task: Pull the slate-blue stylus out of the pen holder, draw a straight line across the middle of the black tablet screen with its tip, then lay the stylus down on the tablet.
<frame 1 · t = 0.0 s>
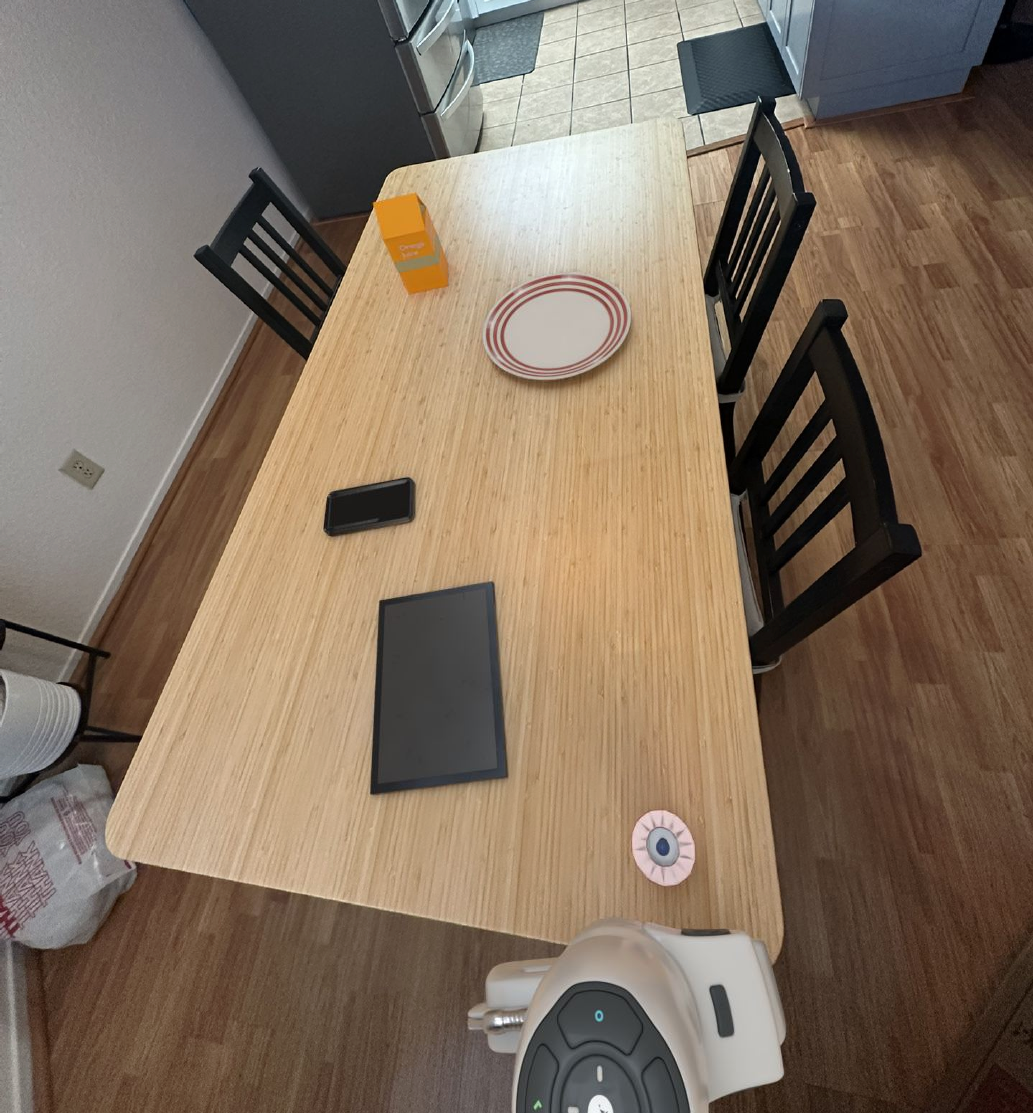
hand: (633, 970, 46), 15 cm above the table, tool pointing down, fingers open, 8 cm apart
orange juice: (429, 279, 126), on the table
phone: (371, 508, 95), on the table
holder: (663, 844, 63), on the table
stylus: (662, 845, 55), point 10 cm above the table, touching holder
dinner plate: (557, 333, 109), on the table
tablet: (438, 680, 77), on the table
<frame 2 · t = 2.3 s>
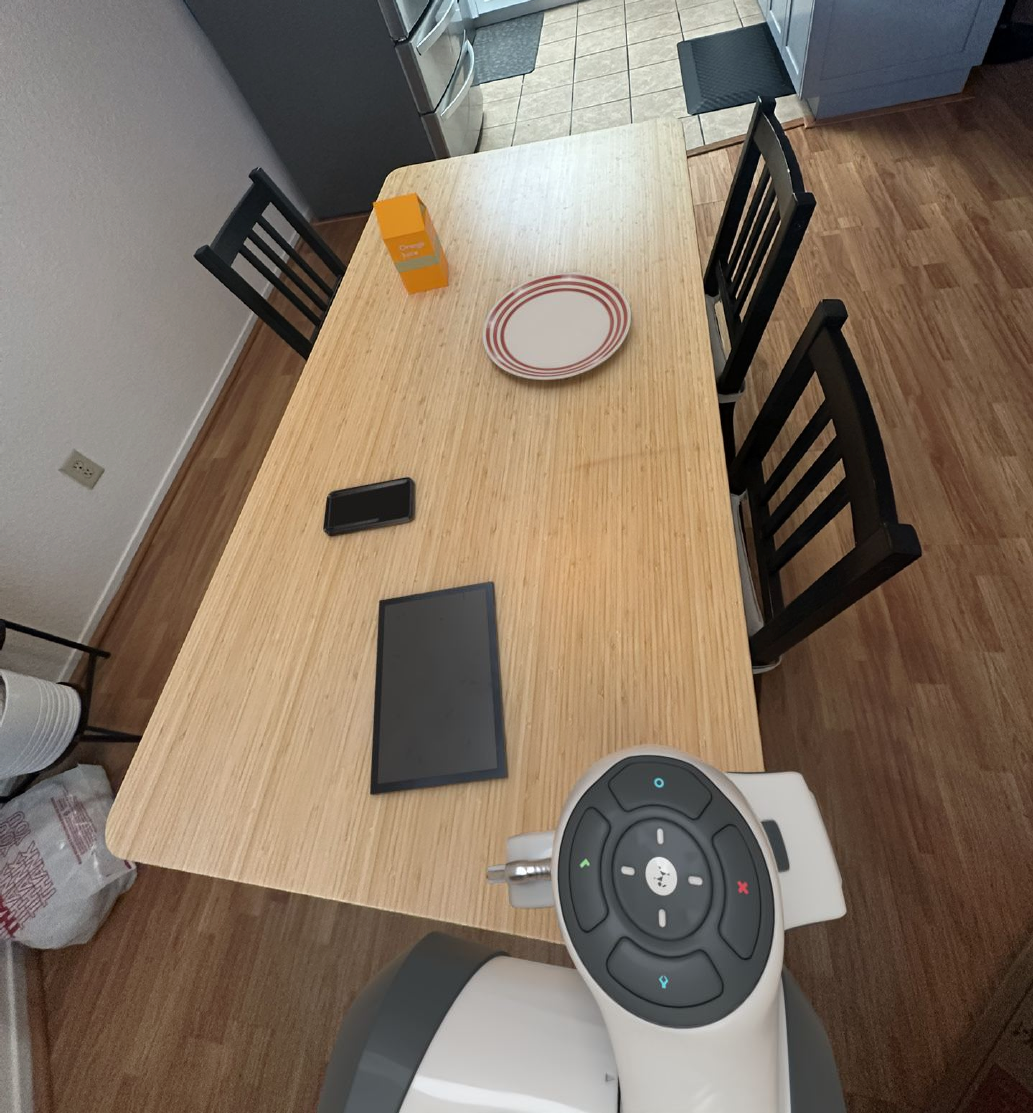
hand: (662, 849, 43), 25 cm above the table, tool pointing down, fingers open, 8 cm apart
nothing on the table moved.
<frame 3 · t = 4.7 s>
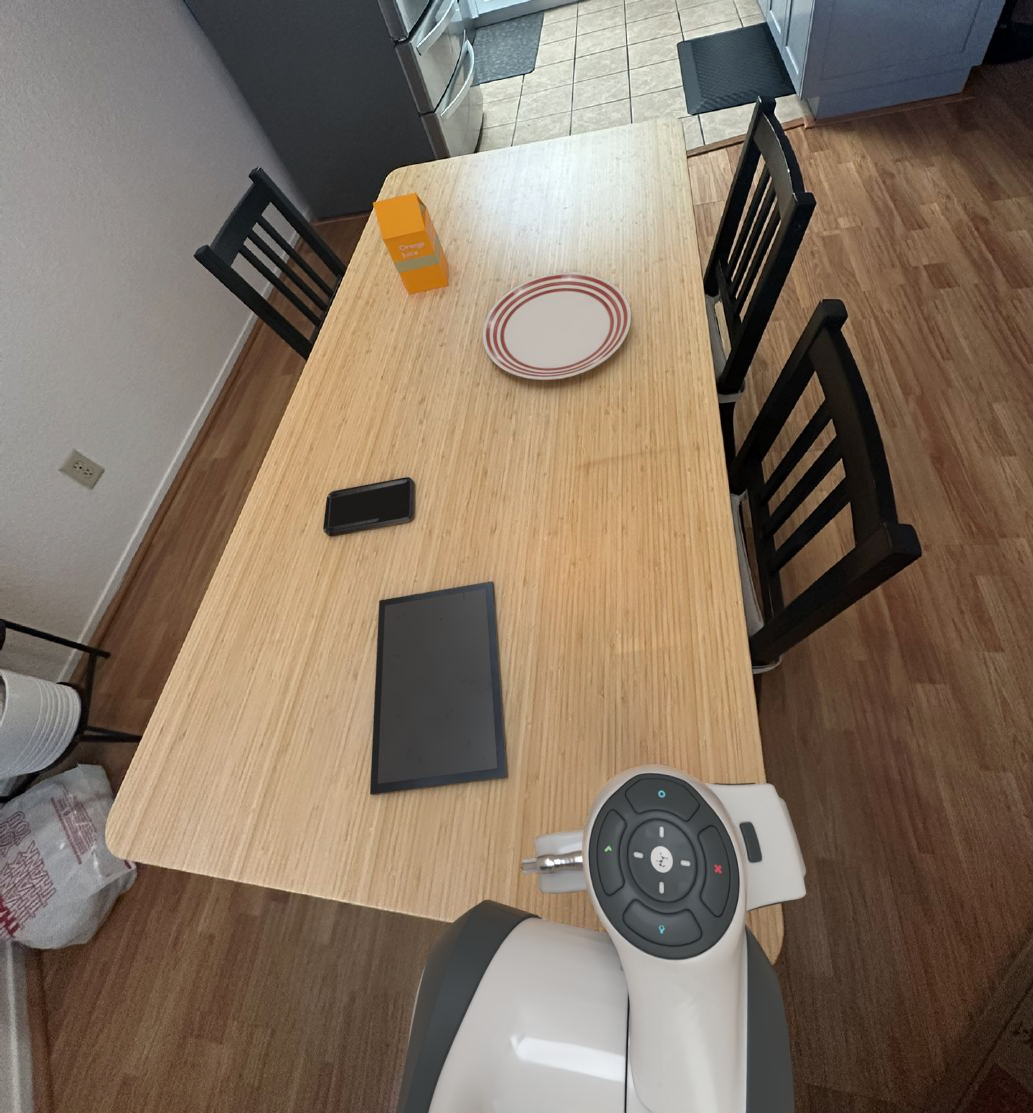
hand: (662, 847, 51), 15 cm above the table, tool pointing down, fingers closed on stylus, 1 cm apart
stylus: (662, 845, 55), point 10 cm above the table, touching gripper
everything else where it was.
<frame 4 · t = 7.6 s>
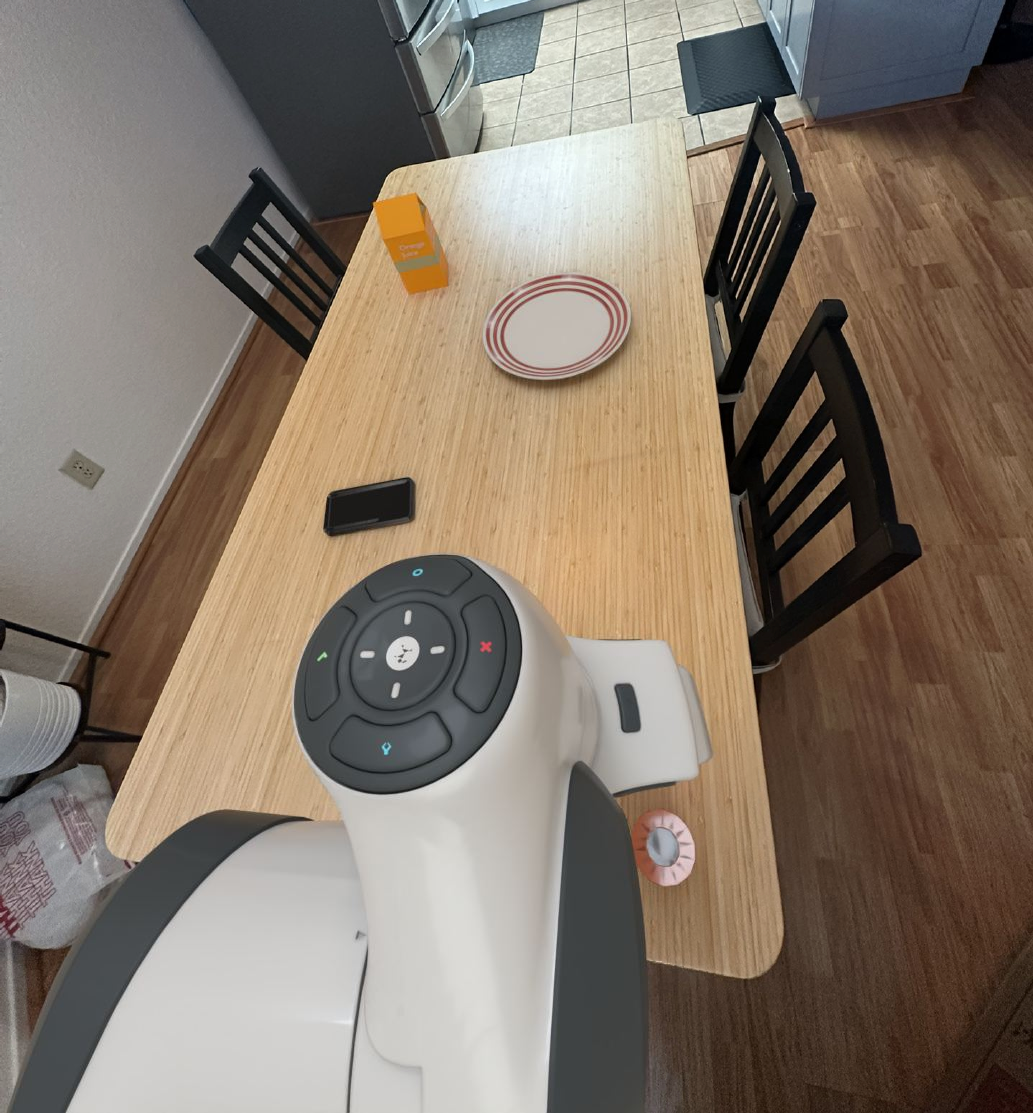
hand: (555, 752, 41), 33 cm above the table, tool pointing down, fingers closed on stylus
stylus: (565, 757, 45), point 28 cm above the table, touching gripper
everything else where it was.
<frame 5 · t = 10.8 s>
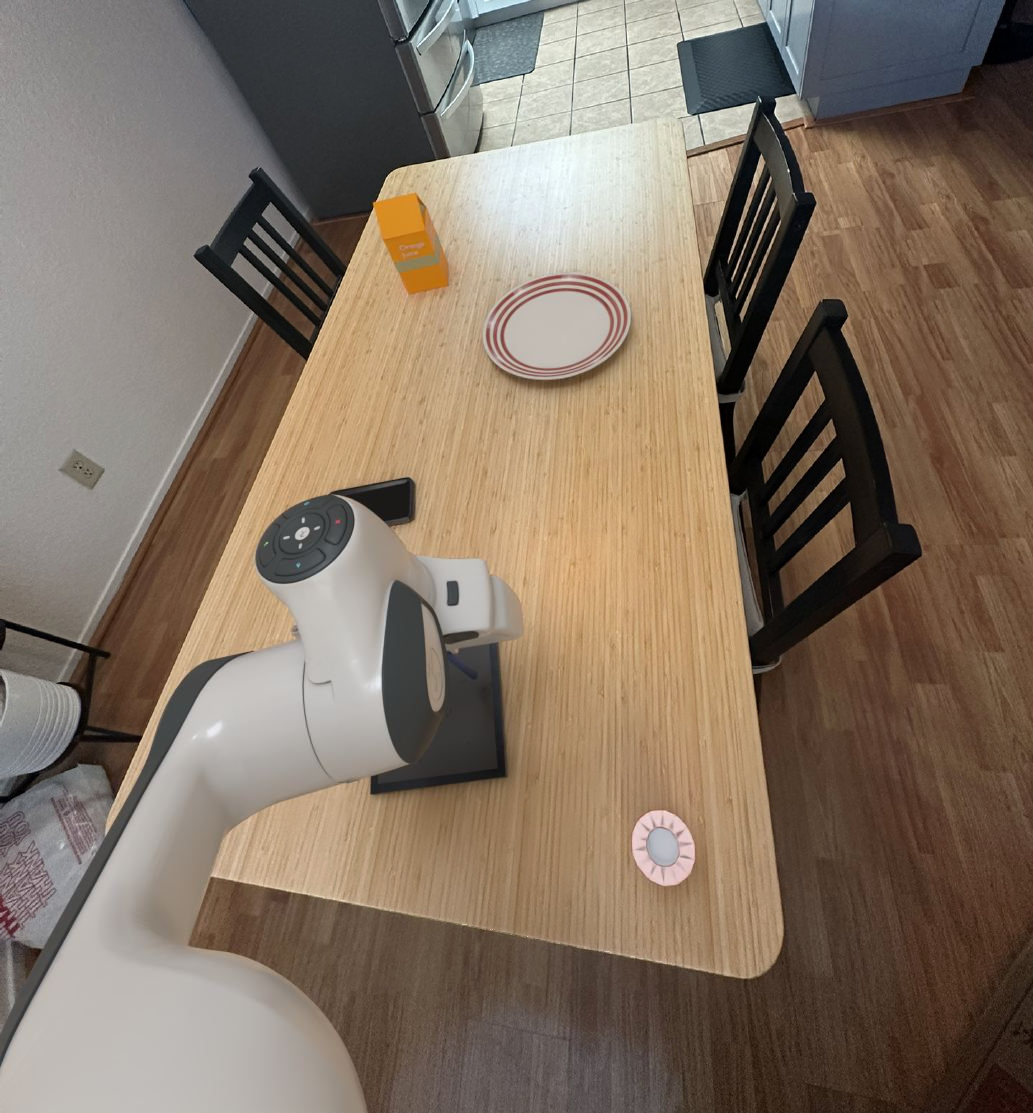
hand: (440, 648, 62), 18 cm above the table, tool pointing down, fingers closed on stylus
stylus: (454, 658, 66), point 13 cm above the table, touching gripper
everything else where it was.
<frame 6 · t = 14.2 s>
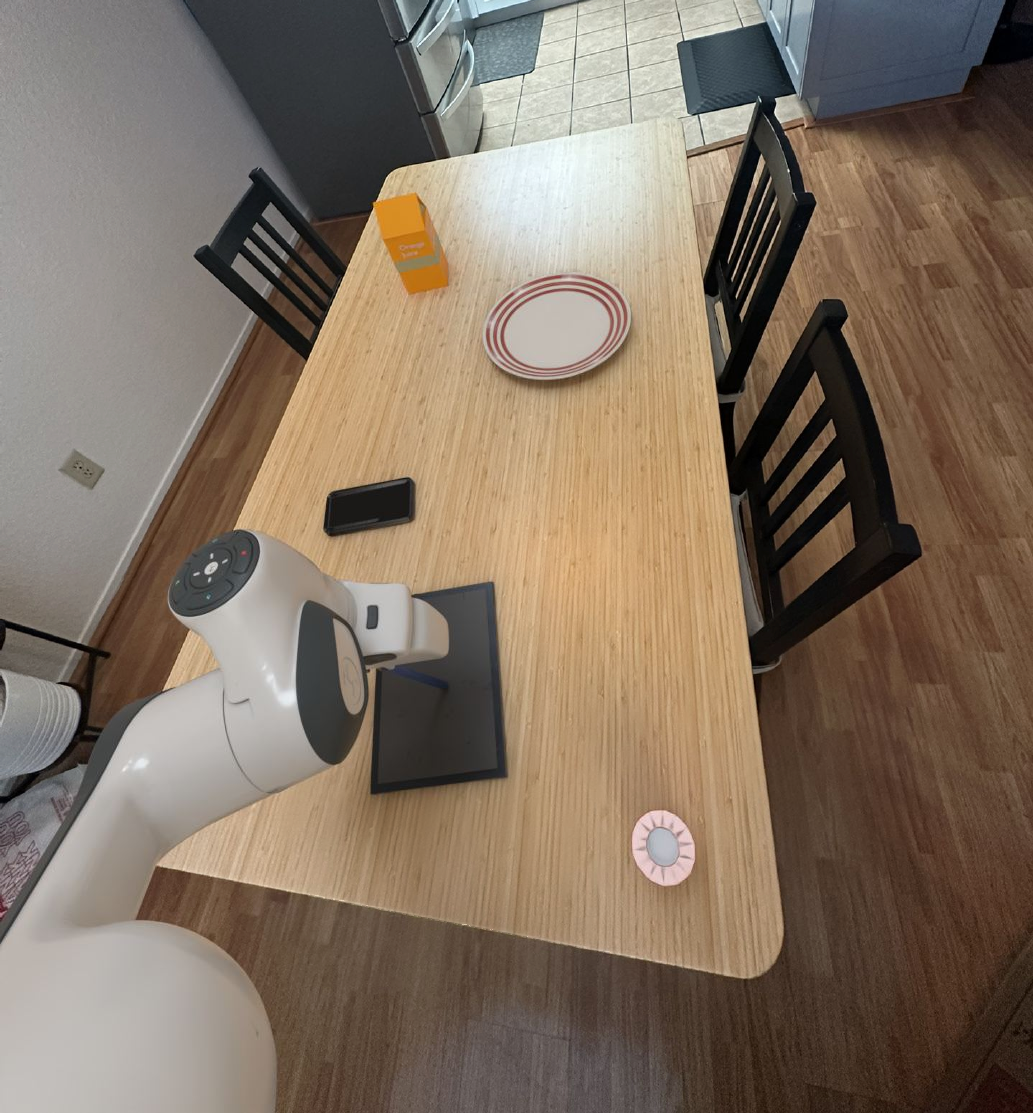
hand: (376, 664, 65), 15 cm above the table, tool pointing down, fingers closed on stylus, 1 cm apart
stylus: (405, 672, 69), point 10 cm above the table, tilted 14°, touching gripper
everything else where it was.
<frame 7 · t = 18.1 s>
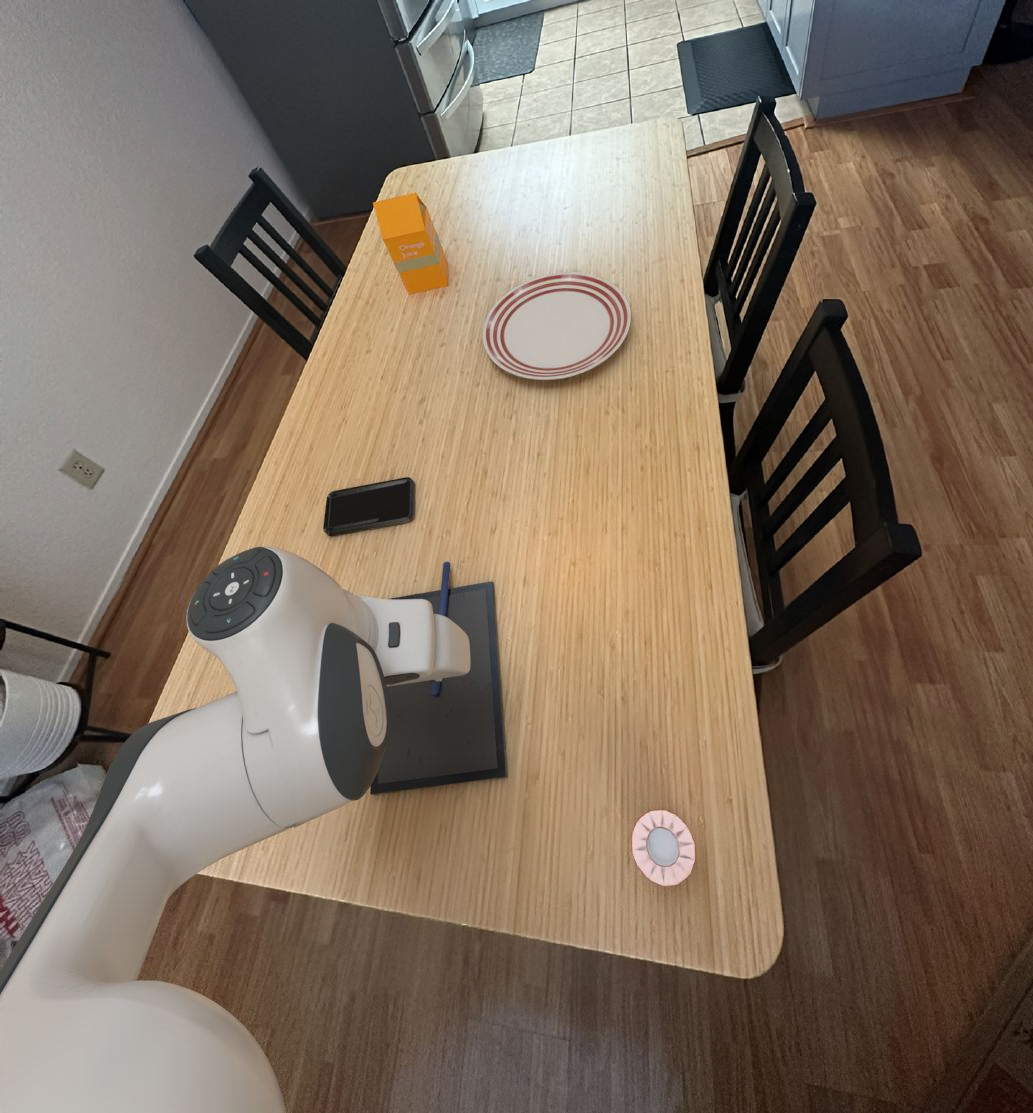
hand: (394, 680, 63), 15 cm above the table, tool pointing down, fingers open, 8 cm apart
stylus: (441, 624, 80), point 2 cm above the table, tilted 90°, touching tablet
everything else where it was.
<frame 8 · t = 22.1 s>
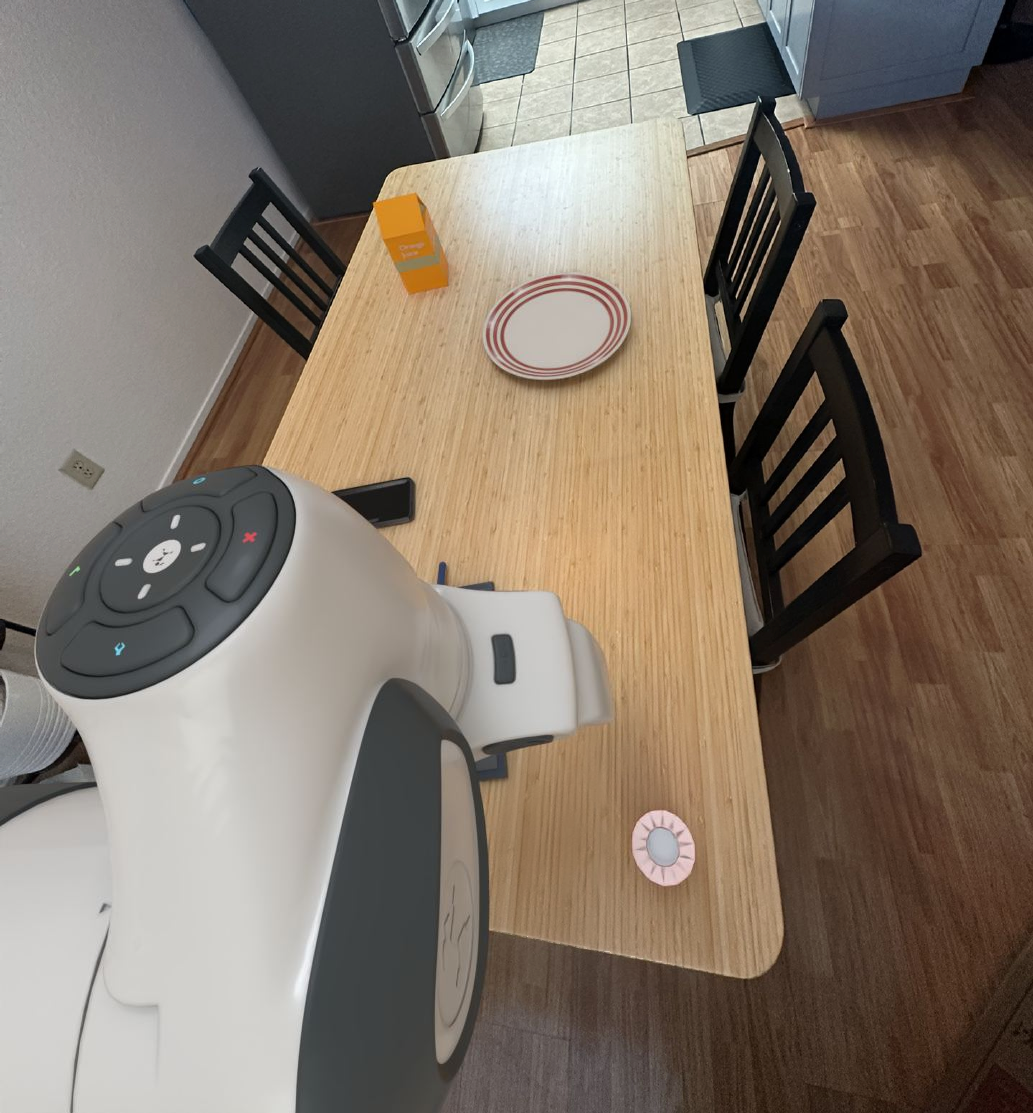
hand: (468, 724, 39), 37 cm above the table, tool pointing down, fingers open, 8 cm apart
nothing on the table moved.
at the end: stylus inside the target area on the tablet (7.0 cm from its centre), point 1.6 cm above the tablet's base; stylus tilted 90°; the gripper is holding nothing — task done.
